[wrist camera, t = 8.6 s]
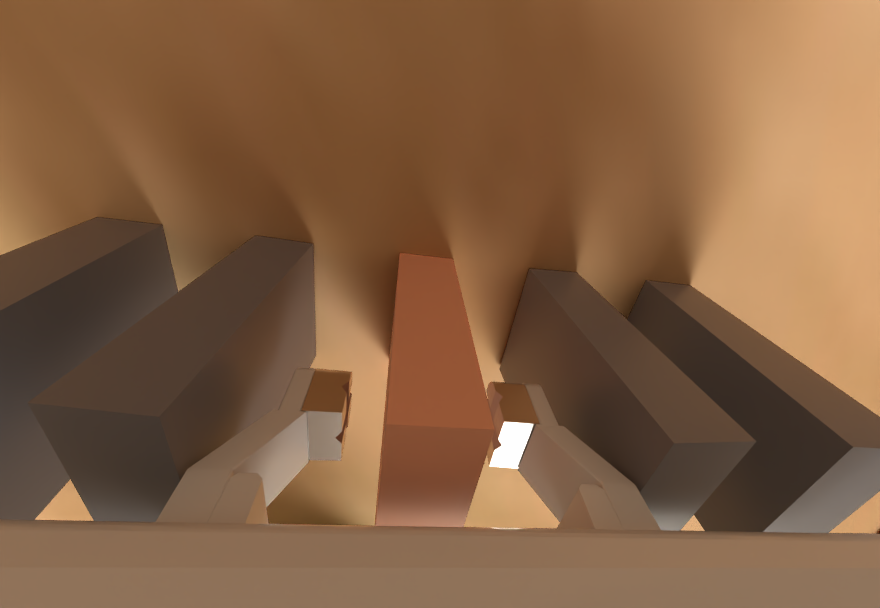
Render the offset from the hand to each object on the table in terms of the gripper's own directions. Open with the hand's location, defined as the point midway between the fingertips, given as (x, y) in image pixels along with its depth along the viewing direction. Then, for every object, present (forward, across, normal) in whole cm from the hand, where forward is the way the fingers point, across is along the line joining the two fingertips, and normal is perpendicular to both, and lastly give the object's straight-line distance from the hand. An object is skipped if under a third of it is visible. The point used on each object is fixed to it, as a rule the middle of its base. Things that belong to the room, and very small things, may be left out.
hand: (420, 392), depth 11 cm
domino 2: (+4, +5, 0) cm, 7 cm away
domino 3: (+4, 0, 0) cm, 4 cm away
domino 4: (+4, -5, 0) cm, 7 cm away
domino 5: (+4, -10, 0) cm, 11 cm away
